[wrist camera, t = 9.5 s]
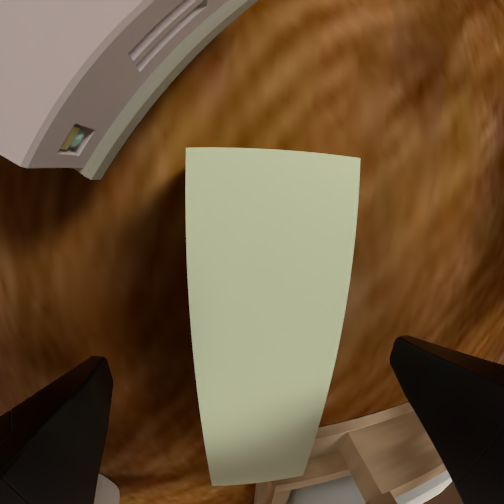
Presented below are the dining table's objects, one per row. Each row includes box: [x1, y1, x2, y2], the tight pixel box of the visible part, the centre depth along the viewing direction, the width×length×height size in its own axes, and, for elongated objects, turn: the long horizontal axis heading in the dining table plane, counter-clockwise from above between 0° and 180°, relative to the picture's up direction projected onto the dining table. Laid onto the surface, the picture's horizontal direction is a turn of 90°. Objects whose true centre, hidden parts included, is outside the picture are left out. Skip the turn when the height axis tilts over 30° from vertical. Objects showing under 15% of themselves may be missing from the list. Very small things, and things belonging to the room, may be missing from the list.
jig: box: [254, 402, 447, 504], centre depth 12 cm, size 16×13×7 cm
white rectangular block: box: [286, 470, 452, 504], centre depth 12 cm, size 12×4×6 cm, turn 88°
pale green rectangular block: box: [185, 147, 360, 486], centre depth 9 cm, size 4×11×4 cm, turn 178°
